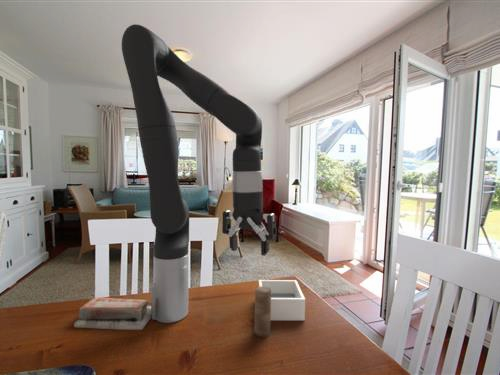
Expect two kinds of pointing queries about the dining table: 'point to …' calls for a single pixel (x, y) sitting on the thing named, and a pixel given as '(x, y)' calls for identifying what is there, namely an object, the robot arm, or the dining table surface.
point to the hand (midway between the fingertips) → (249, 252)
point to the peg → (262, 311)
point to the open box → (285, 299)
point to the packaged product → (114, 314)
